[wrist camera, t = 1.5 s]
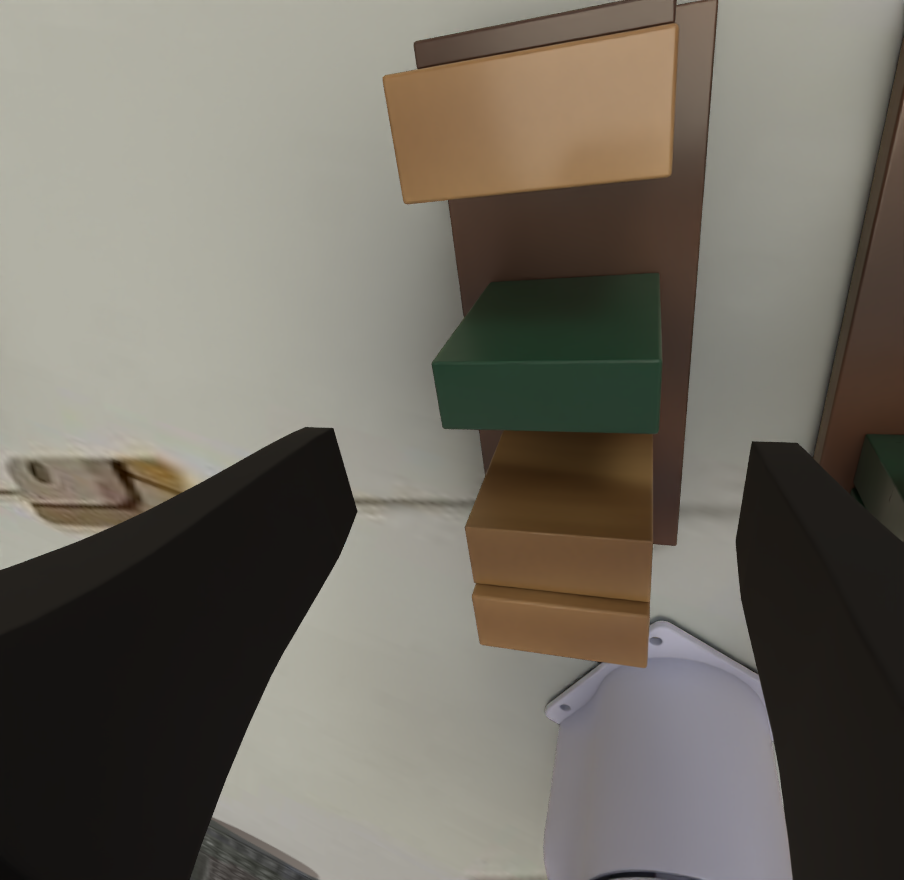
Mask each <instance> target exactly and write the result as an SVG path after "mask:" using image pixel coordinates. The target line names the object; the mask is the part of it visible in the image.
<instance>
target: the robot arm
mask: <svg viewBox="0 0 904 880" xmlns="http://www.w3.org/2000/svg"><path fill="white" fill-rule="evenodd" d="M356 514H357V508H356V505H355V502H354V498H353V495H352V491H351V488H350V484H349V481H348V477H347V474H346V470H345V467H344V463H343V460H342V456H341V453H340V450H339V446H338V443H337V439H336V436H335V432H334V429H333V428H314V427H305V428H302V429H300V430H298V431H295V432H293V433H291V434H289V435H287V436H285V437H283V438H281V439H279V440H277V441H275V442H273V443H272V444H270V445H268V446H266V447H264V448H262V449H261V450H259V451H257V452H255V453H253V454H252V455H250V456H248V457H246V458H244V459H243V460H241V461H239V462H237V463H236V464H234V465H232V466H230V467H228V468H227V469H225V470H223V471H221V472H220V473H218V474H216V475H214V476H212V477H211V478H209V479H207V480H205V481H203V482H201V483H200V484H198V485H196V486H194V487H192V488H190V489H188V490H186V491H184V492H182V493H180V494H179V495H177V496H175V497H173V498H171V499H169V500H167V501H165V502H163V503H161V504H159V505H157V506H156V507H154V508H152V509H150V510H148V511H146V512H144V513H141V514H139V515H137V516H135V517H133V518H131V519H129V520H127V521H124V522H122V523H120V524H118V525H115V526H113V527H111V528H109V529H106V530H104V531H102V532H99V533H97V534H95V535H93V536H90V537H88V538H85V539H83V540H81V541H78V542H76V543H73V544H70V545H68V546H65V547H62V548H60V549H57V550H54V551H52V552H49V553H46V554H44V555H41V556H38V557H36V558H33V559H30V560H28V561H25V562H22V563H19V564H17V565H14V566H11V567H8V568H5V569H3V570H0V880H190V877H191V874H192V871H193V868H194V865H195V862H196V859H197V856H198V853H199V850H200V847H201V844H202V842H203V839H204V836H205V834H206V831H207V828H208V826H209V823H210V820H211V818H212V815H213V812H214V810H215V807H216V804H217V802H218V799H219V797H220V794H221V791H222V789H223V786H224V783H225V781H226V778H227V776H228V773H229V771H230V769H231V766H232V764H233V761H234V759H235V757H236V754H237V752H238V749H239V747H240V745H241V742H242V740H243V737H244V735H245V733H246V730H247V728H248V725H249V723H250V721H251V719H252V717H253V714H254V712H255V710H256V708H257V706H258V703H259V701H260V699H261V697H262V695H263V693H264V690H265V688H266V686H267V684H268V682H269V679H270V677H271V675H272V673H273V671H274V669H275V668H276V666H277V664H278V662H279V660H280V658H281V656H282V654H283V653H284V651H285V649H286V648H287V646H288V644H289V642H290V641H291V639H292V637H293V636H294V634H295V632H296V631H297V629H298V627H299V625H300V624H301V622H302V620H303V619H304V617H305V615H306V613H307V612H308V610H309V608H310V607H311V605H312V603H313V602H314V600H315V598H316V596H317V595H318V593H319V591H320V590H321V588H322V586H323V584H324V583H325V581H326V579H327V577H328V576H329V574H330V572H331V570H332V569H333V567H334V565H335V563H336V562H337V560H338V558H339V556H340V554H341V551H342V549H343V547H344V544H345V542H346V540H347V537H348V535H349V532H350V530H351V527H352V524H353V522H354V519H355V516H356ZM736 552H737V563H738V574H739V584H740V593H741V601H742V605H743V610H744V614H745V619H746V623H747V627H748V632H749V636H750V640H751V645H752V649H753V653H754V658H755V662H756V666H757V670H758V674H756V673H754V672H753V671H751V670H749V669H748V668H746V667H744V666H743V665H741V664H739V663H737V662H736V661H734V660H732V659H731V658H729V657H727V656H726V655H724V654H722V653H721V652H719V651H717V650H715V649H714V648H712V647H710V646H709V645H707V644H705V643H704V642H702V641H700V640H699V639H697V638H695V637H693V636H692V635H690V634H688V633H687V632H685V631H683V630H682V629H680V628H678V627H677V626H675V625H673V624H671V623H669V622H667V621H657V622H655V623H653V624H652V625H650V626H649V642H648V662H647V667H646V668H639V667H632V666H625V665H618V664H611V663H604V662H602V663H601V664H600V665H598V666H597V667H596V668H594V669H593V670H592V671H590V672H589V673H588V674H587V675H585V676H584V677H583V678H581V679H580V680H579V681H577V682H576V683H575V684H573V685H572V686H571V687H570V688H568V689H567V690H566V691H564V692H563V693H562V694H560V695H559V696H558V697H557V698H555V699H554V700H553V701H551V702H550V703H549V704H547V706H546V709H545V715H546V716H547V717H548V718H549V719H550V720H552V721H554V722H556V723H557V724H559V725H560V726H559V733H558V740H557V747H556V754H555V761H554V769H553V776H552V783H551V790H550V797H549V804H548V811H547V819H546V826H545V833H544V847H543V849H544V862H545V868H546V873H547V877H548V880H904V542H903V541H901V540H900V539H899V538H898V537H897V536H895V535H894V534H893V533H892V532H891V531H890V530H889V529H888V528H886V527H885V526H884V525H883V524H882V523H881V522H880V521H879V520H877V519H876V518H875V517H874V516H873V515H872V514H871V513H870V512H869V511H868V510H866V509H865V508H864V507H863V506H862V505H861V504H860V503H859V502H858V501H857V500H856V499H855V498H854V497H852V496H851V495H850V494H849V493H848V492H847V491H846V490H845V489H844V488H843V487H842V486H841V485H840V484H839V483H838V482H837V481H836V480H835V479H834V478H833V477H832V476H831V475H830V474H829V473H828V472H827V471H826V470H825V469H824V468H823V467H821V466H820V465H819V464H818V463H817V462H816V461H815V460H814V459H813V458H812V457H811V456H810V455H809V454H808V453H807V452H806V451H805V450H804V449H803V448H802V447H801V446H800V445H799V444H798V443H785V442H754V441H752V444H751V450H750V456H749V462H748V469H747V475H746V481H745V487H744V493H743V499H742V505H741V512H740V518H739V524H738V530H737V536H736ZM654 637H658V638H654ZM772 742H774V745H775V750H776V755H777V761H778V766H779V773H780V780H781V788H782V796H783V804H784V810H783V804H782V798H781V793H780V787H779V781H778V775H777V770H776V764H775V758H774V752H773V747H772ZM784 811H785V816H784ZM785 819H786V821H785Z"/></svg>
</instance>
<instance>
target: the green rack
mask: <svg viewBox="0 0 904 880" xmlns="http://www.w3.org/2000/svg"><path fill="white" fill-rule="evenodd" d="M813 459H814V460H815V461H816V462H817V463H818V464H819V465H820V466H821V467H823V468H824V469H825V470H826V471H827V472H828V473H829V474H830V475H831V476H832V477H833V478H834V479H835V480H836V481H837V482H838V483H839V484H840V485H841V486H842V487H843V488H844V489H845V490H846V491H847V492H848V493H849V494H850V495H851V496H852V497H854V498H855V499H856V500H857V501H858V502H859V503H860V504H861V505H862V506H863V507H864V508H865V509H866V510H868V511H869V512H870V513H871V514H872V515H873V516H874V517H875V518H876V519H877V520H879V521H880V522H881V523H882V524H883V525H884V526H885V527H886V528H888V529H889V530H890V531H891V532H892V533H893V534H894V535H895V536H897V537H898V538H899V539H900V540H901V541H903V542H904V37H903V42H902V46H901V51H900V56H899V60H898V65H897V70H896V74H895V79H894V84H893V88H892V93H891V98H890V102H889V107H888V112H887V116H886V121H885V126H884V130H883V135H882V140H881V144H880V149H879V154H878V158H877V163H876V168H875V172H874V177H873V182H872V186H871V191H870V196H869V200H868V205H867V210H866V214H865V219H864V224H863V228H862V233H861V238H860V242H859V247H858V252H857V256H856V261H855V266H854V270H853V275H852V280H851V284H850V289H849V294H848V298H847V303H846V308H845V312H844V317H843V322H842V326H841V331H840V336H839V340H838V345H837V350H836V354H835V359H834V364H833V368H832V373H831V378H830V382H829V387H828V392H827V396H826V401H825V406H824V410H823V415H822V420H821V424H820V429H819V434H818V438H817V443H816V448H815V452H814V457H813Z"/></svg>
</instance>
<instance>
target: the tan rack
mask: <svg viewBox="0 0 904 880" xmlns="http://www.w3.org/2000/svg"><path fill="white" fill-rule="evenodd" d="M676 3H677V0H623V1H618V2H612V3H607V4H602V5H597V6H592V7H587V8H582V9H577V10H572V11H567V12H562V13H557V14H551V15H546V16H541V17H536V18H531V19H526V20H521V21H516V22H511V23H506V24H501V25H495V26H490V27H485V28H480V29H475V30H470V31H465V32H460V33H455V34H450V35H445V36H440V37H434V38H429V39H424V40H419V41H416V42H414V51H415V58H416V65H417V68H418V69H417V70H411V71H406V72H400V73H394V74H389V75H385V76H384V77H383V85H384V91H385V97H386V103H387V109H388V114H389V120H390V126H391V132H392V138H393V143H394V149H395V155H396V161H397V167H398V172H399V178H400V184H401V190H402V196H403V201H404V203H405V204H416V203H426V202H435V201H445V200H448V204H449V211H450V218H451V226H452V233H453V241H454V248H455V255H456V263H457V270H458V278H459V285H460V292H461V300H462V307H463V315H464V318H465V316H466V315H467V313H468V312H469V311H470V309H471V308H472V307H473V305H474V304H475V302H476V301H477V300H478V298H479V297H480V296H481V294H482V293H483V291H484V290H485V289H486V287H487V286H488V284H489V283H491V282H502V281H520V280H538V279H556V278H574V277H592V276H609V275H627V274H645V273H659V275H660V302H661V333H662V380H661V400H660V420H659V431H658V433H657V434H630V433H590V432H550V431H510V430H479V433H480V441H481V448H482V455H483V463H484V470H485V478H484V480H483V483H482V485H481V488H480V490H479V493H478V495H477V498H476V500H475V503H474V505H473V508H472V510H471V513H470V515H469V518H468V520H467V523H466V525H465V531H466V537H467V543H468V549H469V555H470V561H471V567H472V573H473V579H474V583H476V585H475V588H474V591H473V594H472V600H473V606H474V612H475V618H476V624H477V629H478V635H479V641H480V644H481V645H486V646H493V647H500V648H507V649H513V650H520V651H527V652H534V653H541V654H548V655H555V656H562V657H569V658H576V659H583V660H590V661H597V662H604V663H611V664H618V665H625V666H632V667H639V668H646V667H647V662H648V642H649V622H650V593H651V573H652V552H653V544H659V545H671V546H676V545H677V532H678V519H679V506H680V493H681V480H682V467H683V454H684V441H685V428H686V415H687V402H688V388H689V375H690V362H691V349H692V336H693V323H694V310H695V297H696V284H697V271H698V258H699V245H700V232H701V219H702V206H703V193H704V180H705V167H706V154H707V141H708V128H709V115H710V102H711V89H712V76H713V63H714V50H715V37H716V24H717V11H718V0H701V1H696V2H690V3H685V4H680V5H676Z"/></svg>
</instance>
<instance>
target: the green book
mask: <svg viewBox="0 0 904 880" xmlns="http://www.w3.org/2000/svg"><path fill="white" fill-rule="evenodd" d="M432 369H433V375H434V381H435V387H436V392H437V398H438V404H439V410H440V416H441V421H442V427H443V428H444V429H470V430H510V431H550V432H590V433H630V434H657V433H658V431H659V420H660V400H661V380H662V333H661V302H660V275H659V273H645V274H627V275H609V276H592V277H574V278H556V279H538V280H520V281H502V282H491V283H489V284H488V286H487V287H486V289H485V290H484V291H483V293H482V294H481V296H480V297H479V298H478V300H477V301H476V302H475V304H474V305H473V307H472V308H471V309H470V311H469V312H468V313H467V315H466V316H465V318H464V319H463V320H462V322H461V323H460V324H459V326H458V327H457V329H456V330H455V331H454V333H453V334H452V336H451V337H450V338H449V340H448V341H447V342H446V344H445V345H444V347H443V348H442V349H441V351H440V352H439V353H438V355H437V356H436V358H435V359H434V360H433V362H432Z"/></svg>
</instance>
